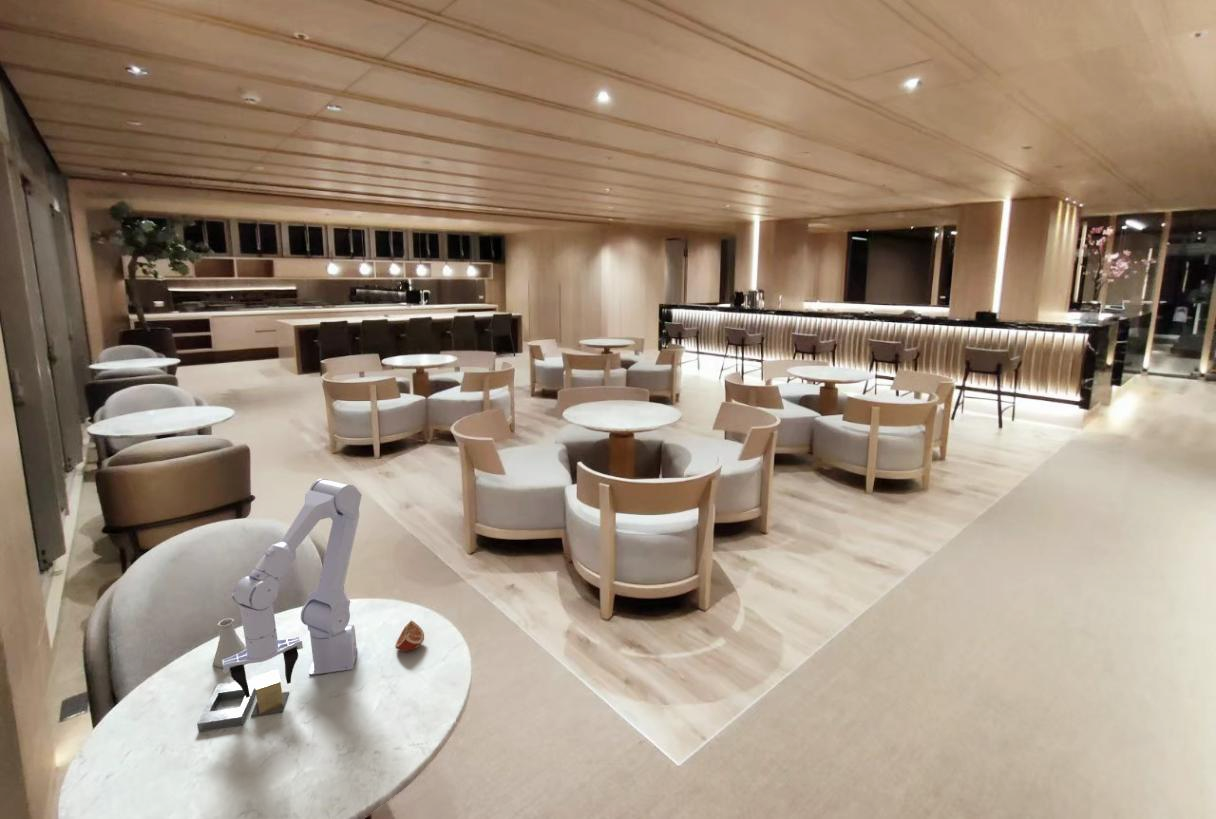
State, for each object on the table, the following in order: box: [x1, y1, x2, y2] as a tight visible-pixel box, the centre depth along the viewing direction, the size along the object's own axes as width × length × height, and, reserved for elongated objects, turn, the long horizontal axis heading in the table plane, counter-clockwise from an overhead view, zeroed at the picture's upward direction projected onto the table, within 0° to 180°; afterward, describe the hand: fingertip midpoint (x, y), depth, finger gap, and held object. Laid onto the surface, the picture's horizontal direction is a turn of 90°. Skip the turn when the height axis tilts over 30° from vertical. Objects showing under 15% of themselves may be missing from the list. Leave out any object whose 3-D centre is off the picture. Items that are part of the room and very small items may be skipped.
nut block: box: [253, 669, 284, 714], centre depth 130 cm, size 4×4×6 cm
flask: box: [212, 618, 246, 669], centre depth 144 cm, size 7×7×10 cm
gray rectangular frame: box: [196, 678, 256, 733], centre depth 130 cm, size 8×12×2 cm, turn 15°
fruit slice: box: [395, 619, 425, 652], centre depth 150 cm, size 8×7×5 cm
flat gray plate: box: [250, 691, 290, 718], centre depth 131 cm, size 6×6×1 cm
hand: (268, 687), depth 130 cm, fingers open, 7 cm apart
